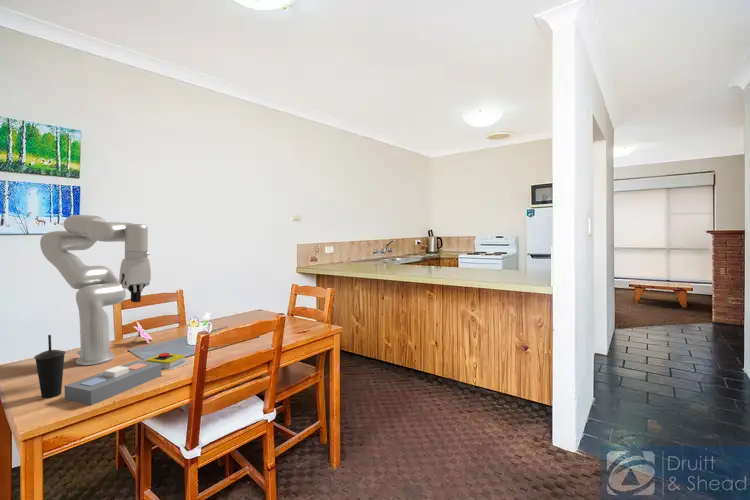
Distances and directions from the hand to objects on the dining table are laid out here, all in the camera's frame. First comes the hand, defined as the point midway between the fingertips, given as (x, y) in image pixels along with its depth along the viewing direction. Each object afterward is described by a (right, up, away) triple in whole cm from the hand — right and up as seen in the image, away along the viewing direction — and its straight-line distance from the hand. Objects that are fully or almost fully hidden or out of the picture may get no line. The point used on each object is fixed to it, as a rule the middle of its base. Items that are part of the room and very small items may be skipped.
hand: (135, 301), depth 144 cm
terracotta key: (+7, -25, -10) cm, 28 cm away
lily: (-19, -25, +34) cm, 46 cm away
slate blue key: (+2, -26, -24) cm, 35 cm away
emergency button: (+9, -27, +5) cm, 29 cm away
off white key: (+5, -24, -17) cm, 30 cm away
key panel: (+5, -27, -17) cm, 32 cm away
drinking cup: (-12, -28, -24) cm, 38 cm away
